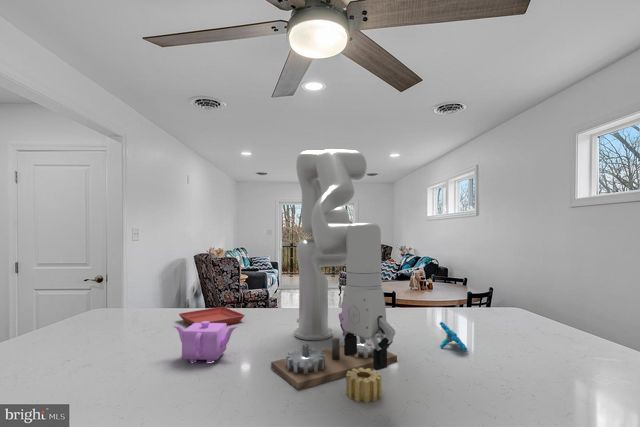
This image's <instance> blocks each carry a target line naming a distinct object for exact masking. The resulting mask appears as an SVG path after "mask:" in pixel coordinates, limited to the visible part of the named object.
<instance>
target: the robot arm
mask: <svg viewBox="0 0 640 427" xmlns="http://www.w3.org/2000/svg"><path fill="white" fill-rule="evenodd" d="M295 165H296V168H295V169H296V175H297V179H298V182H299V185H300V190H301V228H302V231H303V232H304V233H306V234H312V236H313V237H309V238H303V239H301V240H300V241H298V242H297V244H296V258H297V266H298V285H299V286H298V287H299V288H298V318H297V319H296V323H297V324H298V328H296V329H295V330H294V332H293V333H294V336H295V337H296V338H298V339H301V340H305V341H321V340H327V339H329V338H331V337H332V336H333V332H334V331H333V330H332V329H331V328H330V327H329V281H328V278H327V276H326V274H325V272H324V271H323V270H322V269H321V268H324V267H325V268H326V267H342V266H345V272H346V275H345V276H346V279H345V281H346V283H345V285H344V289H343V294H342V302H341V303H342V304H341V305H342V306H341V312H340V313H338V319H339V323H340V324H339V325H340V328H341V330H342V334H341V335H342V336H343V337H344V338H343V342H344V343H343V345H344V355H345V356H349V355H353V354H356V353H357V338H358V337H362V338H365V339H371V340H372V342H373V344H374V346H375V348H376V349H374V350H373V368H372V369H373V371H374V370H376V371H381V370H383V369H387V368H388V364H387V351H388V349H389V348H390V346H391V344H392V343H393V340H394V336H395V334H396V329H394V328H393V327H392V326H391V324H390V323H389V322H388V321H387V309H386V300H385V294H384V290H383V289H384V288H383V287H382V238H381V236H382V232H381V227H380V225H379V224H377V223H373V222H350V214H349V211H348V209H347V208H345V207H344V205H347V204H348V203H349V202H350V201H351V200H352V199H353V198H354V196H355V188H354V185H353V182H352V181H359V180H361V179H363V178H364V177H365V176H366V173H367V169H368V166H367V160H366V157H365V156H364V154H363V153H362V152H361V151H358V150H354V149H337V148H336V149H335V148H329V149H324V150H316V149H315V150H304V151H301V152H300V153H299V154H298V156H297V157H296V163H295ZM379 340H380V343H379Z"/></svg>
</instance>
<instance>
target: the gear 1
mask: <svg viewBox="0 0 640 427" xmlns="http://www.w3.org/2000/svg"><path fill="white" fill-rule="evenodd" d="M318 351H319V352H318ZM285 359H286V367H287V370H289V371H291V370H293V371H294V373H299V372H302V373H304V374H308V373H309V372H313V373H317V372H318V370H323V369H324V366H325V354H323V352H322V351H321V350H317V349H315V348H312V349H310V345H309V344H307V343H306V344H302V349H294V351H289V352H288V353H287V354H286V355H285Z"/></svg>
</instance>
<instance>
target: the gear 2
mask: <svg viewBox="0 0 640 427" xmlns="http://www.w3.org/2000/svg"><path fill="white" fill-rule="evenodd" d="M378 341H379V340H378ZM380 341H381V340H380ZM380 341H379V343H380ZM374 349H376V348H375V346H374V344H373V342H372V340H371V338H370V339H365V338H362V337H359V336H357V353H356V354H353V355H354V356H355V357H357V358H358V357H364V358H368V357H373V350H374Z"/></svg>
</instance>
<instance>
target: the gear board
mask: <svg viewBox="0 0 640 427" xmlns="http://www.w3.org/2000/svg"><path fill="white" fill-rule="evenodd" d="M340 340H341V339H340V338H339V337H332V338H331V347H330V348H326V349H321V350H317V351H318V352H319V351H322V352H323V354H325V366H324V369H323V370H318V372H317V373H313V372H309V373H308V374H304V373H302V372H299V373H294V371H293V370H291V371H289V370H287V367H286V358H281V359H279V360H273V361H270V368H271V369H272V370H273V371H274V372H276V373H277V374H278V375H279V376H280V377H282V378H283V379H284V380H285V381H287V383H289V384H290V385H291V386H292V387H294V388H295V389H296V390H298V391H300V390H302V389H306V388H311V387H314V386H316V385H320V384H324V383H327V382H330V381H333V380H337V379H341V378H345V377H346V374H347V372H348V371H351V369H354V368H355V369H359V368H363V369H367V368H369V369H371V370H373V369H374V368H373V357H368V358H364V357H358V358H357V357H355V356H354V355H349V356H345V355H344V344H343V345H341V344H340ZM396 362H398V355H397V354H394V353H392V352H390V351H388V350H387V365H389V364H390V365H391V364H392V363H396Z"/></svg>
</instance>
